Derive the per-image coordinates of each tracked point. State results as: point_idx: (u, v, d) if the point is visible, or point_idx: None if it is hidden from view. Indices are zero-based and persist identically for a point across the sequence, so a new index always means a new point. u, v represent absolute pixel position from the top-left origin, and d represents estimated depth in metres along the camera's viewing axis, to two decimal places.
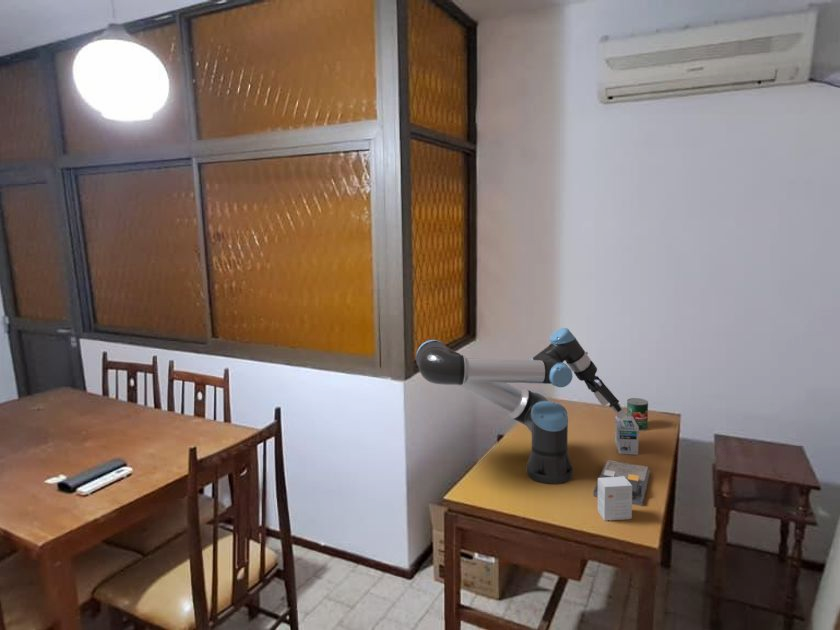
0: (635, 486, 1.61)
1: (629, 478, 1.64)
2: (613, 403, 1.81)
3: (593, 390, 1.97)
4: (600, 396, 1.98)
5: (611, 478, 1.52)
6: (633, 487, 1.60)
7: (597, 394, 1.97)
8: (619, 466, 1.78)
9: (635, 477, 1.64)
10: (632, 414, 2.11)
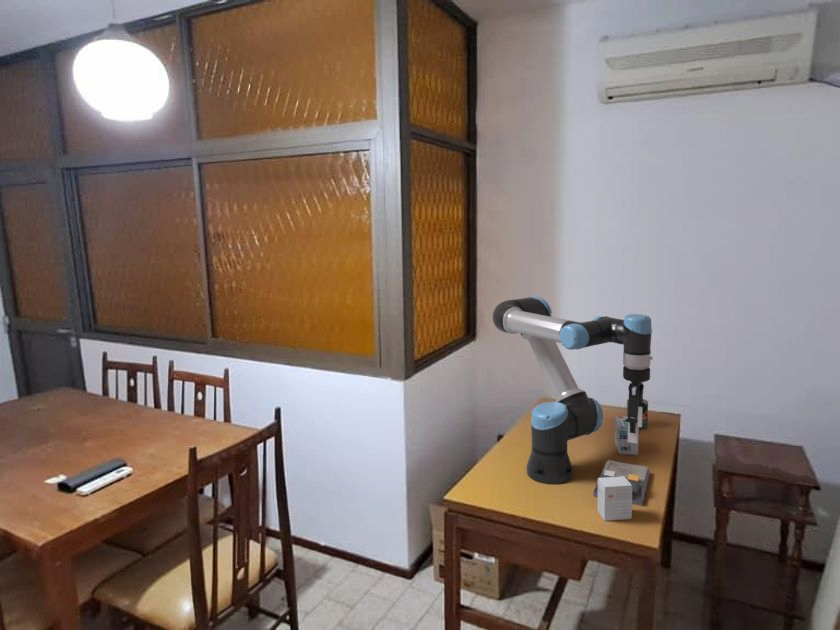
0: (635, 486, 1.61)
1: (629, 478, 1.64)
2: (629, 419, 1.53)
3: None
4: (637, 414, 1.67)
5: (611, 478, 1.52)
6: (633, 487, 1.60)
7: None
8: (619, 466, 1.78)
9: (635, 477, 1.64)
10: None
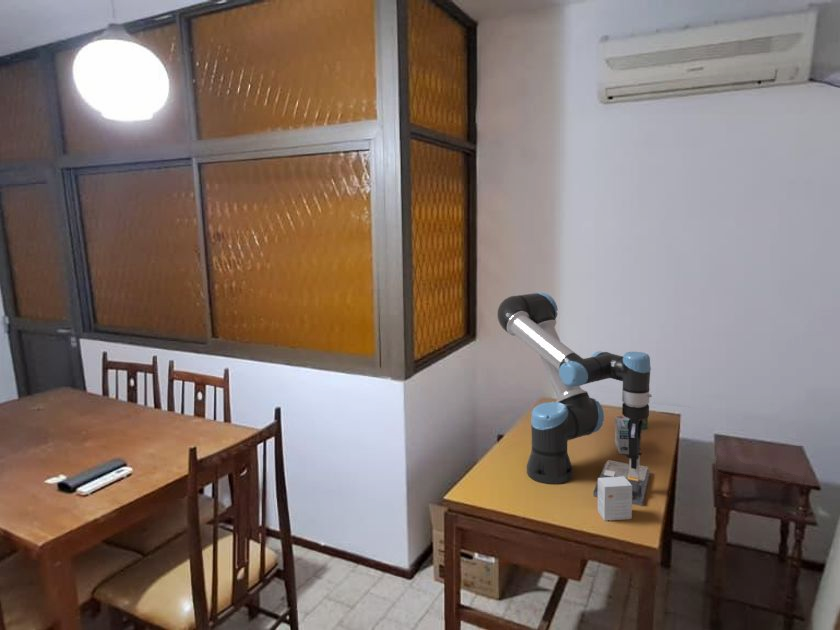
0: (635, 486, 1.61)
1: (629, 478, 1.64)
2: (630, 455, 1.60)
3: None
4: None
5: (611, 478, 1.52)
6: (633, 487, 1.60)
7: None
8: (619, 466, 1.78)
9: None
10: None
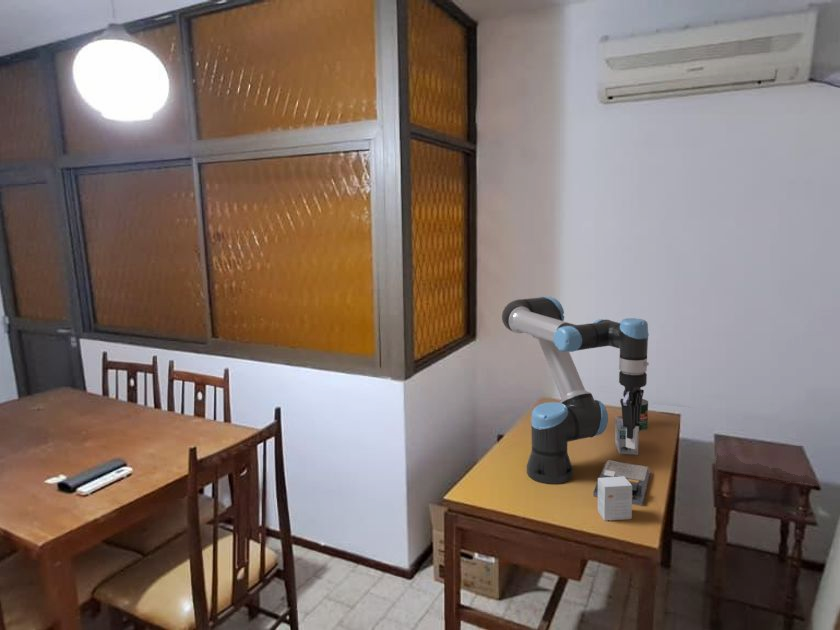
0: (635, 483, 1.61)
1: (629, 480, 1.64)
2: (625, 424, 1.56)
3: None
4: None
5: (611, 478, 1.52)
6: (633, 483, 1.61)
7: None
8: (619, 466, 1.78)
9: (635, 480, 1.64)
10: None
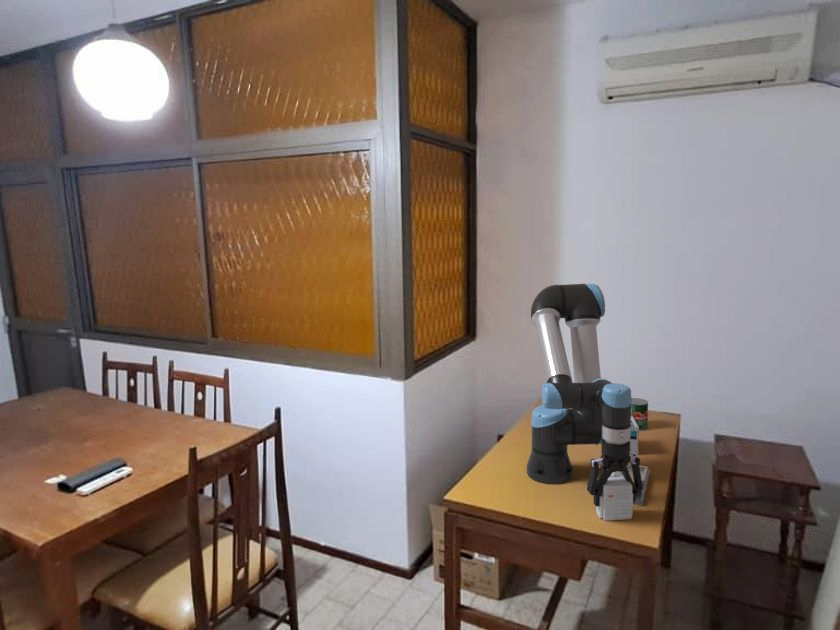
0: None
1: None
2: (588, 488, 1.51)
3: None
4: None
5: (611, 478, 1.52)
6: None
7: None
8: None
9: None
10: (632, 414, 2.11)
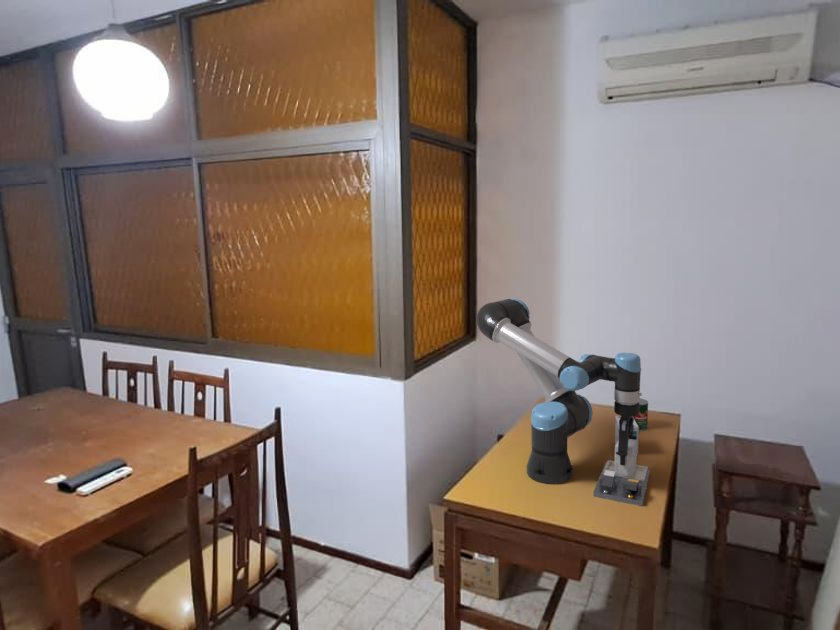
0: (635, 483, 1.61)
1: (629, 480, 1.64)
2: (619, 452, 1.65)
3: None
4: None
5: None
6: (633, 483, 1.61)
7: None
8: None
9: (635, 480, 1.64)
10: None
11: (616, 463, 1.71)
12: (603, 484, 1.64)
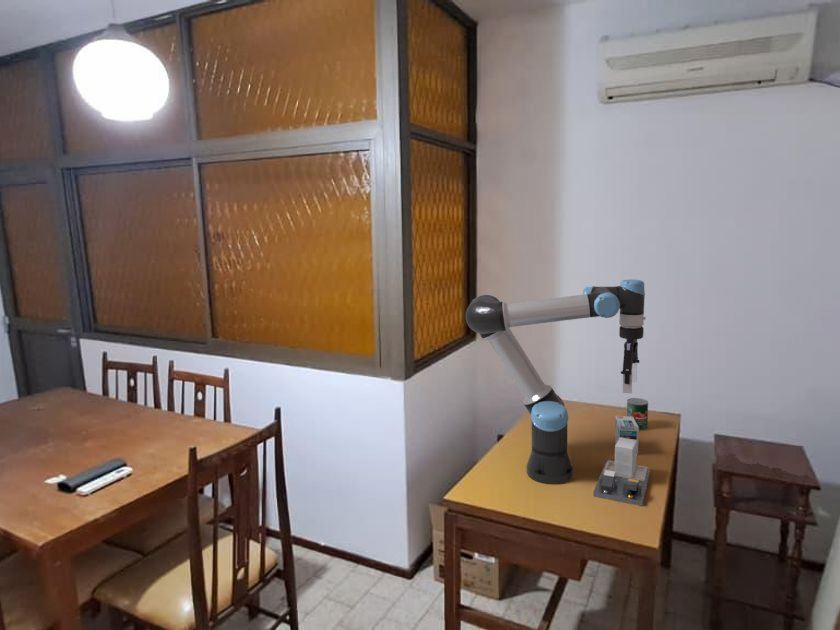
0: (635, 483, 1.61)
1: (629, 480, 1.64)
2: (624, 371, 1.72)
3: None
4: (632, 370, 1.86)
5: (620, 442, 1.72)
6: (633, 483, 1.61)
7: None
8: None
9: (635, 480, 1.64)
10: (632, 414, 2.11)
11: (616, 463, 1.71)
12: (603, 484, 1.64)
